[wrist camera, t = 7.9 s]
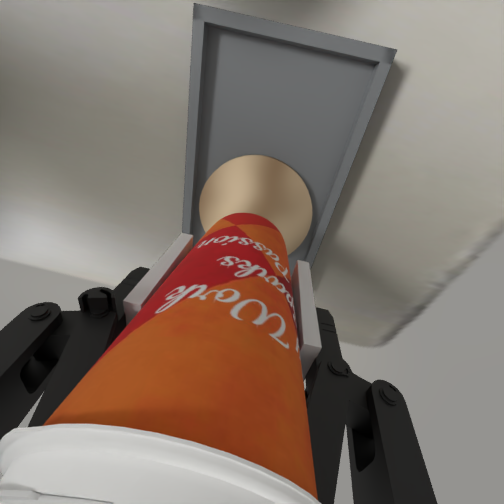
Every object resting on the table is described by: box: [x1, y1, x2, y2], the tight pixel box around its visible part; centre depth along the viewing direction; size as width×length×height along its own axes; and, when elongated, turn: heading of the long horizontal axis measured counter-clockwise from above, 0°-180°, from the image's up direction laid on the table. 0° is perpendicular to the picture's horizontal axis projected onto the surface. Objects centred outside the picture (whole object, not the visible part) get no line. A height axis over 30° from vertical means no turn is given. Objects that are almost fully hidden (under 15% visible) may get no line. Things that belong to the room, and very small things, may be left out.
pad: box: [199, 155, 312, 255], centre depth 24 cm, size 11×11×1 cm
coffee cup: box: [0, 213, 321, 504], centre depth 11 cm, size 8×8×15 cm
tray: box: [182, 3, 397, 277], centre depth 23 cm, size 14×22×2 cm, turn 169°
